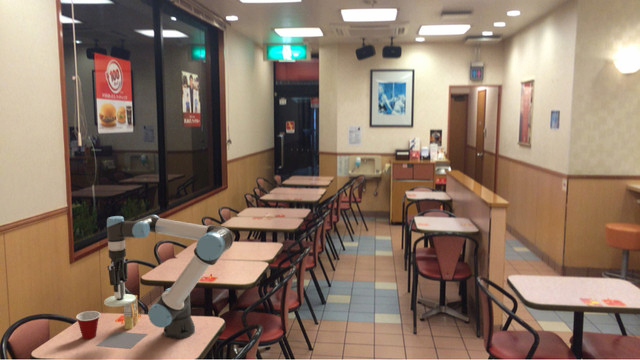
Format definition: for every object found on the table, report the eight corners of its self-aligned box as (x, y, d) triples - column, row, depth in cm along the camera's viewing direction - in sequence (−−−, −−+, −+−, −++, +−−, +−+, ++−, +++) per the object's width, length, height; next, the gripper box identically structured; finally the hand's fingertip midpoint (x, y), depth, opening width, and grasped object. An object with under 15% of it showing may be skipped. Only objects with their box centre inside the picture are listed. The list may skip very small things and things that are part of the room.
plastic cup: (92, 343, 237) (90, 319, 236) (72, 341, 240) (71, 318, 238) (106, 334, 248) (105, 311, 246) (87, 332, 250) (85, 309, 249)
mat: (148, 335, 246) (148, 334, 246) (130, 350, 231) (130, 348, 231) (115, 332, 249) (115, 331, 249) (95, 347, 234) (95, 345, 234)
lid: (141, 296, 243) (140, 277, 242) (125, 307, 229) (124, 286, 228) (115, 295, 246) (114, 275, 244) (98, 305, 232) (96, 285, 231)
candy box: (131, 322, 261) (129, 294, 259) (139, 322, 261) (137, 294, 259) (124, 329, 253) (122, 301, 251) (132, 329, 253) (131, 301, 251)
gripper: (119, 244, 243) (122, 290, 246) (99, 253, 227) (102, 302, 230) (133, 244, 241) (136, 291, 244) (114, 253, 226) (117, 303, 229)
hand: (119, 296), depth 237 cm, fingers closed on lid, 3 cm apart
